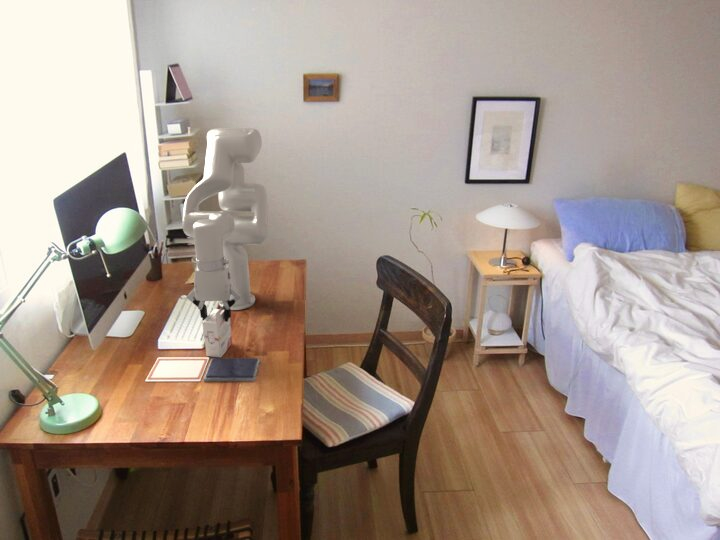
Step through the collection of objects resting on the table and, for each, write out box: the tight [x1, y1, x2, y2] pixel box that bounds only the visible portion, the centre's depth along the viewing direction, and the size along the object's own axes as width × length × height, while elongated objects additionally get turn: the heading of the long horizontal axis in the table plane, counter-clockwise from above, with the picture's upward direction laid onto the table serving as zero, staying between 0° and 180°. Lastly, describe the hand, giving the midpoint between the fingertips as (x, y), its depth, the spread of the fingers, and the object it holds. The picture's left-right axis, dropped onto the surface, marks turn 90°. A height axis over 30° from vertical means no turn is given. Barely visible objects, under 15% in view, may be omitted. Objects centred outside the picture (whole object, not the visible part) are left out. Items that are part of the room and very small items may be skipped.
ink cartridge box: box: [201, 305, 233, 358], centre depth 167 cm, size 9×5×15 cm, turn 169°
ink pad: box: [203, 357, 261, 383], centre depth 160 cm, size 10×14×2 cm
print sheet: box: [144, 356, 211, 383], centre depth 160 cm, size 12×15×1 cm
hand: (216, 318), depth 166 cm, fingers closed on ink cartridge box, 5 cm apart
